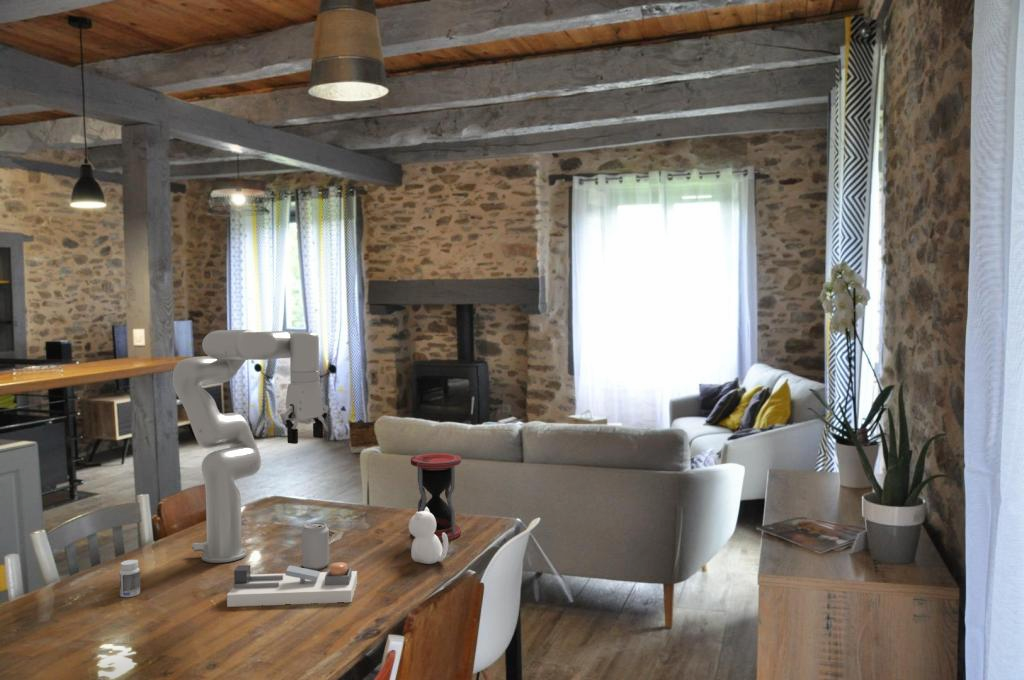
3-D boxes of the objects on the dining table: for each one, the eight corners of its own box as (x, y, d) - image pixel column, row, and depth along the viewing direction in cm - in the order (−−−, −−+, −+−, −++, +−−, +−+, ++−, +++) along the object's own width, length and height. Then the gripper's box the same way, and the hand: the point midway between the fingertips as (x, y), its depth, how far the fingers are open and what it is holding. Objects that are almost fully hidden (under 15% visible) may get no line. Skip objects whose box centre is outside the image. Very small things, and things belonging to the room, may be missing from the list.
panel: (227, 606, 188) (226, 586, 188) (241, 586, 202) (241, 566, 202) (351, 602, 191) (351, 581, 191) (357, 582, 205) (356, 562, 205)
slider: (234, 586, 193) (234, 570, 193) (238, 580, 197) (238, 565, 197) (246, 586, 194) (246, 570, 193) (250, 580, 198) (250, 565, 197)
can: (322, 571, 214) (321, 528, 213) (297, 569, 215) (296, 527, 215) (333, 562, 221) (333, 521, 220) (309, 560, 222) (309, 520, 222)
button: (328, 577, 195) (328, 568, 195) (330, 571, 200) (330, 562, 200) (346, 577, 196) (346, 567, 196) (348, 571, 200) (348, 562, 200)
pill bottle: (144, 592, 198) (143, 560, 198) (130, 598, 194) (129, 565, 193) (130, 589, 200) (129, 558, 199) (115, 596, 195) (114, 563, 195)
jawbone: (344, 532, 254) (344, 526, 254) (349, 551, 235) (349, 545, 235) (316, 532, 252) (316, 526, 252) (318, 552, 232) (319, 545, 232)
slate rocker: (285, 575, 194) (286, 570, 194) (288, 569, 198) (289, 565, 198) (316, 581, 195) (317, 577, 195) (318, 576, 199) (319, 571, 199)
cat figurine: (417, 554, 229) (416, 504, 228) (455, 558, 224) (454, 507, 223) (402, 563, 220) (401, 512, 220) (442, 568, 216) (441, 515, 215)
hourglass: (434, 524, 259) (433, 451, 258) (471, 532, 250) (471, 456, 249) (400, 536, 246) (399, 458, 245) (438, 545, 237) (438, 464, 236)
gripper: (316, 374, 217) (317, 434, 218) (270, 379, 202) (271, 444, 203) (337, 375, 214) (337, 436, 215) (292, 381, 199) (292, 446, 199)
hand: (305, 440), depth 209 cm, fingers open, 9 cm apart
